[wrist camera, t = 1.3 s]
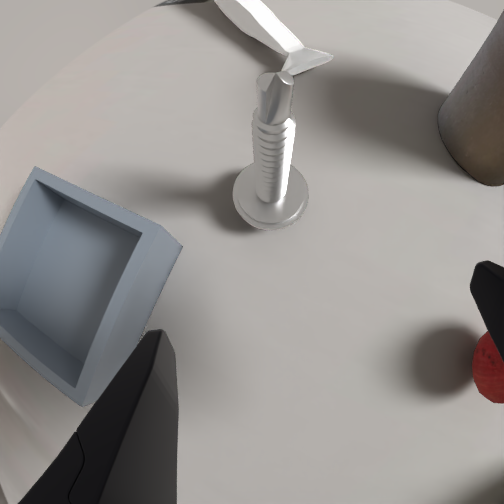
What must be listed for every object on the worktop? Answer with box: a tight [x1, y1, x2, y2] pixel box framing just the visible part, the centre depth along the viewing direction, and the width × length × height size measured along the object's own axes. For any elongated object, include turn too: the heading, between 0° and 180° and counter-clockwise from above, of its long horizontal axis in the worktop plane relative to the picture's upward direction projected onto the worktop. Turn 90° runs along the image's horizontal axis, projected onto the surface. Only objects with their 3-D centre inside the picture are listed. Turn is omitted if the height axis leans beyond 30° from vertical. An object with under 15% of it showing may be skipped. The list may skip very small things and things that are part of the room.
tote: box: [0, 166, 183, 407], centre depth 19 cm, size 12×12×5 cm
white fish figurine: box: [214, 0, 334, 75], centre depth 25 cm, size 6×18×4 cm, turn 32°
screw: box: [233, 70, 309, 230], centre depth 16 cm, size 13×5×5 cm
